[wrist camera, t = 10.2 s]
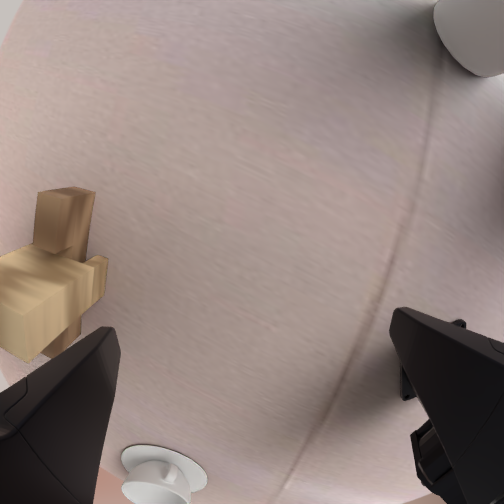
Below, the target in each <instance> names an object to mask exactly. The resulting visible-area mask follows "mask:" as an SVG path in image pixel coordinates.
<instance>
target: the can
mask: <svg viewBox="0 0 504 504" xmlns="http://www.w3.org/2000/svg"><path fill="white" fill-rule="evenodd" d="M433 19H434V23H435V26H436V30H437V32H438V34H439V36H440V38H441V40H442V42H443V44H444V45H445V47H446V48H447V49H448V51H449V52H450V53H451V55H452V56H453V57H454V58H455V59H456V60H457V61H458V62H459V63H460V64H461V65H462V66H463V67H464V68H466V69H467V70H469V71H471V72H472V73H474V74H475V75H479V76H482V77H486V78H487V77H493V76H497V75H500V74H503V73H504V0H439V1H438V2H437V3H436V5H435V7H434V16H433Z"/></svg>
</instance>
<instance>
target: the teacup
mask: <svg viewBox="0 0 504 504" xmlns="http://www.w3.org/2000/svg"><path fill="white" fill-rule="evenodd" d="M121 461H122V464H123V466H124V467H125V469H126V470H127V471H128V472H129V474H128V476H127V477H126V479H125V481H124V483H123V484H122V487H121V489H122V492H123V494H124V495H125V496H126V497H127V498H128V499H129V500H130V501H131V502H133V503H135V504H191V493H194V492H197V491H199V490H201V489H203V488H204V487H205V486H206V484H207V481H208V478H207V475H206V473H205V471H204V470H203V469H202V468H201V467H200V466H199V465H198V464H197V463H195V462H194V461H193V460H191V459H189V458H187V457H186V456H184V455H182V454H179V453H177V452H174V451H172V450H169V449H165V448H161V447H157V446H150V445H136V446H131V447H129V448H127V449H125V450H124V451H123V452H122V455H121Z"/></svg>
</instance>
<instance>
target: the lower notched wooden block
mask: <svg viewBox="0 0 504 504" xmlns="http://www.w3.org/2000/svg"><path fill="white" fill-rule="evenodd" d="M94 198H95V192H92V191H88V190H85V189H81V188H77V187H68V188H61V189H54V190H48V191H42V192H38V197H37V205H36V214H35V224H34V236H33V245H34V246H36V247H38V248H41V249H44V250H46V251H49V252H51V253H54V254H59V255H61V256H64V257H66V258H69V259H72V260H75V261H77V262H80V263H84V262H85V260H86V251H87V243H88V235H89V228H90V222H91V215H92V209H93V203H94ZM80 334H81V316H79V317H78V318H77V319H76V320H75V321H74V322H73V323H72V324H71V325H69V326H68V327H67V328H66V329H65V330H64V331H63V332H62V333H61V334H59V335H58V336H57V337H56V338H55V339H54V340H53V341H52V342H51V343H50V344H49V345H48V346H46V347H45V348H44V349H43V350H42V351H41V352H40V353H42V354H44V355H46V356H47V357H49V358H51V359H53V358H54V357H56V356H57V355H59V354H60V353H62V352H63V351H64V350H65V349H66V348H67V347H68V346H69V345H70V344H71V343H72V342H73V341H74V340H75V339H76V338H77V337H78V336H79V335H80Z"/></svg>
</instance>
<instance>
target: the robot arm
mask: <svg viewBox="0 0 504 504" xmlns="http://www.w3.org/2000/svg"><path fill="white" fill-rule="evenodd" d="M460 326H461V327H460ZM389 334H390V337H391V339H392V342H393V344H394V346H395V349H396V351H397V354H398V356H399V358H400V377H401V398H402V400H403V401H407V400H409V399H412V398H415V397H417V398H418V400H419V401H420V403H421V405H422V406H423V408H424V410H425V411H426V413H427V415H428V417H429V420H427V421H426V422H425V423H424V424H423V425H422V426H421V427H420V428H419V429H418V430H415V431H414V432H413V433H412V434H411V435H410V437H411V443H412V449H413V454H414V460H415V466H416V472H417V477H418V478H419V479H420V480H421V483H422V485H423V486H426V487H427V488H428V489H429V490H430V491H431V492H432V493H434V494H436V495H439V496H440V497H441V498H442V499H443V500H444V501H445V502H446V503H447V504H504V343H502V342H500V341H497V340H494V339H491V338H487V337H486V336H483V335H481V334H478V333H475V332H472V331H470V330H467V329H466V322H465V321H464V320H462V319H461V320H458V321H456V322H454V323H448V322H446V321H443V320H440V319H437V318H435V317H432V316H429V315H427V314H424V313H421V312H419V311H416V310H413V309H411V308H408V307H400V308H396V309H395V310H394V312H393V316H392V320H391V324H390V329H389ZM120 356H121V351H120V346H119V343H118V339H117V335H116V331H115V329H114V328H113V327H100V328H98V329H97V330H95V331H94V332H92V333H91V334H89V335H88V336H86V337H85V338H83V339H81V340H80V341H78V342H77V343H75V344H74V345H72V346H71V347H69V348H68V349H66V350H65V351H63V352H62V353H60V354H59V355H57V356H56V357H54V358H53V359H51V360H50V361H48V362H47V363H45V364H44V365H42V366H41V367H39V368H38V369H36V370H35V371H33V372H32V373H30V374H29V375H27V377H24V378H23V379H21V380H20V381H18V382H17V383H15V384H14V385H12V386H10V387H9V388H8V389H6V390H4V391H2V392H1V393H0V504H93V499H94V494H95V488H96V481H97V476H98V470H99V465H100V460H101V455H102V450H103V445H104V440H105V436H106V431H107V427H108V422H109V418H110V414H111V410H112V406H113V402H114V397H115V391H116V384H117V376H118V369H119V362H120Z"/></svg>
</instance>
